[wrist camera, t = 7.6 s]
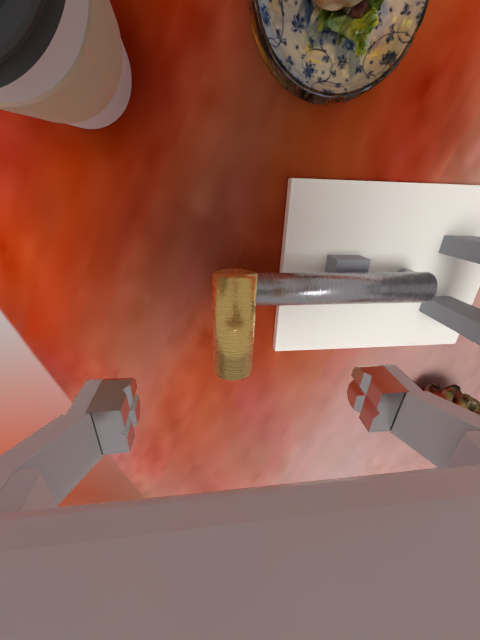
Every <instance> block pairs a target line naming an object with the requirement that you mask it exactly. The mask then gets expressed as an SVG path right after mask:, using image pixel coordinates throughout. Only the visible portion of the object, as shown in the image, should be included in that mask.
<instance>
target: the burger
mask: <svg viewBox="0 0 480 640" xmlns="http://www.w3.org/2000/svg"><path fill="white" fill-rule="evenodd" d="M249 1H250V9H252V13H253V15H254V16H253V20H254V21H252V18H251V13H250V18H251V21H252V23H251V24H252V25H251V26H252V30H253V34H254V38H255V41H256V43H257V46H258V48H259V51H260V53H261V55H262V58H263V60H264V61H265V63H266V65H267V66H268V68H269V69H270V71H271V73H272V74H273V76H274V77H275V78H276V79H277V80H278V81H279V82H280V83H281V84H282V86H283V87H284V88H285V89H287V90H288V91H289V92H291V93H292V94H294V95H295V96H297V97H298V98H300V99H303V100H305V101H308V102H311V103H314V104H320V103H321V101H322V102H323V105H324V103H325V102H327V100H329V99H332V98H334V99H333V102H340V99H339V98H343V102H346V101H348V100H350V99H353V98H356V97H358V96H360V94H363V93H364V92H366V91H367V90H369V89H370V88H372V87H373V86H375V85H377V84H378V83H380V82H381V81H382V80H383V79H384V78H385V77H387V76H388V75H389V74H390V73H391V72H392V71H393V70H394V69H395V68H396V67H397V65H398V64H399V63H400V61H401V59H402V58H403V57H404V56H405V54H406V53H407V51H408V49H409V47H410V45H411V43H412V41H413V39H414V36H415V34H416V32H417V30H418V28H419V26H420V25H421V22H422V20H423V18H424V15H425V11H426V8H427V5H428V2H429V0H249ZM248 8H249V7H248ZM250 12H251V11H250ZM260 43H261V45H260ZM355 96H356V97H355ZM335 99H336V101H335ZM337 99H339V100H337ZM315 101H316V102H315ZM331 102H332V101H331ZM327 103H329V101H328V102H327ZM321 104H322V103H321Z"/></svg>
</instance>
